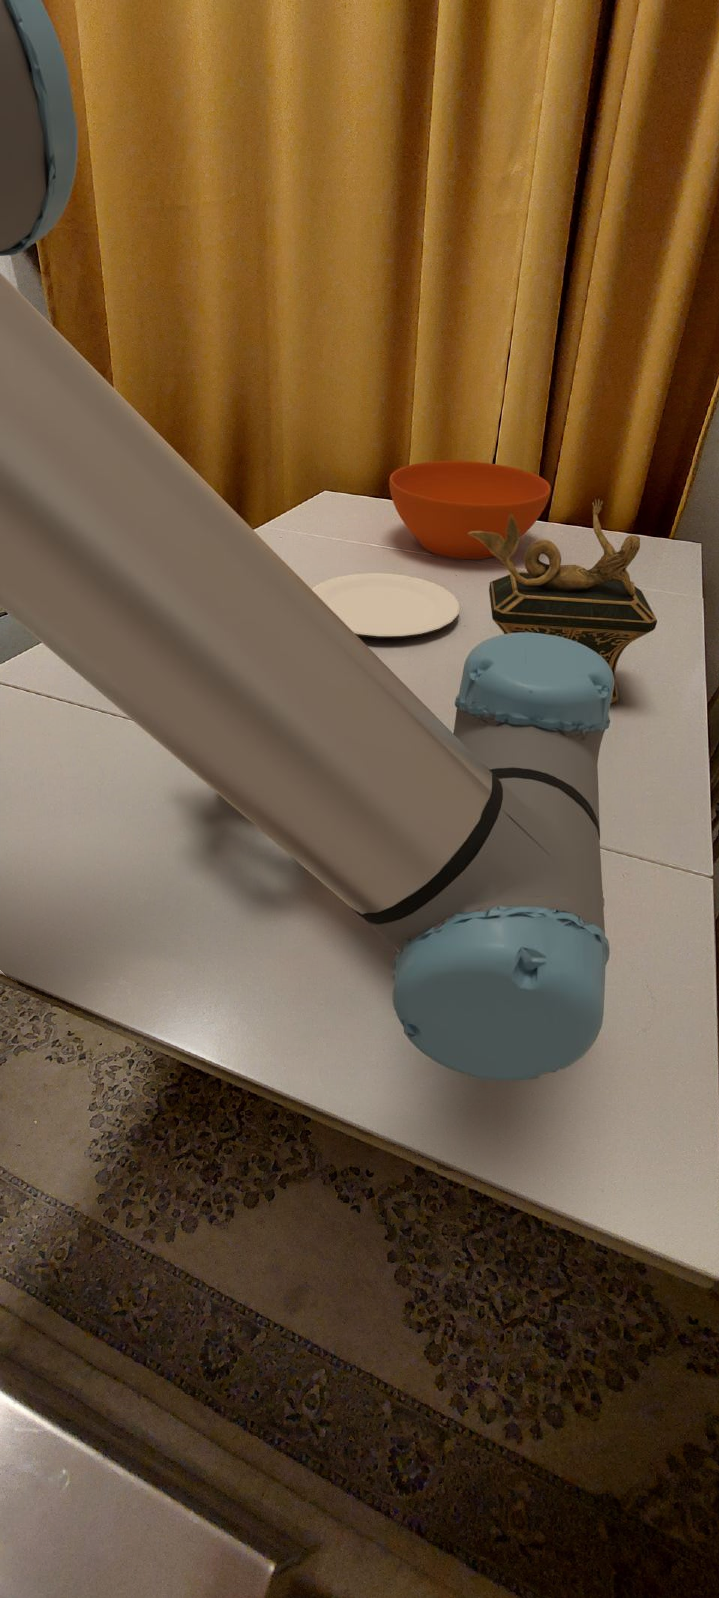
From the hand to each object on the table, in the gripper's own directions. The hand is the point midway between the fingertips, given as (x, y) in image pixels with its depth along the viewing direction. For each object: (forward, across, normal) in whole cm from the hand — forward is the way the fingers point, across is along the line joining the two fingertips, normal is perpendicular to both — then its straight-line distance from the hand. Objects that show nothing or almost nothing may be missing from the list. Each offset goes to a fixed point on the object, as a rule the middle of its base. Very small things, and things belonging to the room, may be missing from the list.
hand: (217, 678), depth 66 cm
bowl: (+32, +65, -10) cm, 73 cm away
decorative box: (-7, +38, -10) cm, 40 cm away
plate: (+19, +36, -10) cm, 42 cm away
